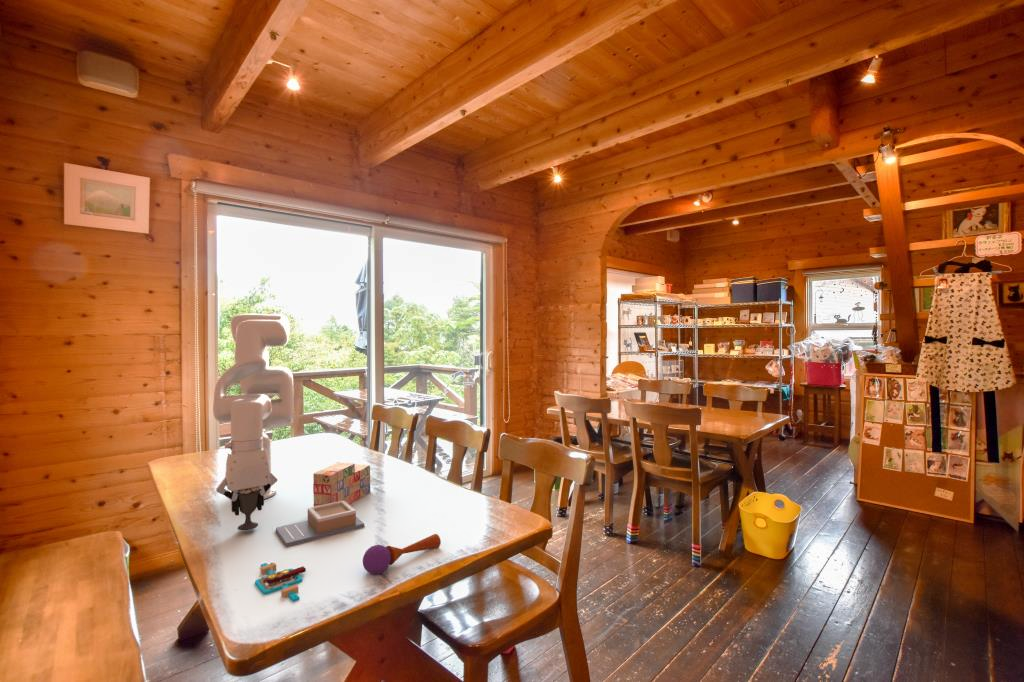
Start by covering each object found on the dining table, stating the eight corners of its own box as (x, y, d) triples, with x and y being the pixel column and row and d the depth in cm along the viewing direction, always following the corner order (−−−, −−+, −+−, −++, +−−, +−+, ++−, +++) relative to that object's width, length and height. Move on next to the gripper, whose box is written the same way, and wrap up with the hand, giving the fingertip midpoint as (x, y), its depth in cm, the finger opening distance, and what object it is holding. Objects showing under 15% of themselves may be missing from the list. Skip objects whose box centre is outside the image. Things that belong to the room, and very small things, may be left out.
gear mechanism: (288, 560, 114) (244, 574, 107) (287, 537, 114) (244, 550, 107) (323, 593, 100) (275, 611, 93) (323, 567, 99) (275, 584, 93)
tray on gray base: (275, 531, 129) (275, 513, 129) (349, 514, 141) (349, 497, 141) (286, 547, 120) (286, 528, 119) (364, 527, 132) (364, 509, 132)
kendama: (445, 535, 118) (374, 557, 103) (441, 557, 118) (369, 582, 103) (431, 524, 122) (360, 543, 107) (427, 546, 122) (355, 568, 107)
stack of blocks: (354, 490, 163) (354, 454, 162) (370, 492, 161) (370, 456, 161) (313, 513, 142) (312, 472, 142) (331, 515, 140) (331, 474, 140)
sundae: (267, 523, 131) (267, 469, 131) (246, 533, 125) (247, 477, 124) (249, 520, 133) (249, 467, 133) (228, 529, 127) (228, 473, 127)
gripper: (211, 453, 120) (212, 524, 121) (284, 443, 131) (285, 508, 131) (208, 446, 126) (209, 514, 127) (278, 437, 136) (278, 500, 137)
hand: (247, 510), depth 129 cm, fingers closed on sundae, 4 cm apart
